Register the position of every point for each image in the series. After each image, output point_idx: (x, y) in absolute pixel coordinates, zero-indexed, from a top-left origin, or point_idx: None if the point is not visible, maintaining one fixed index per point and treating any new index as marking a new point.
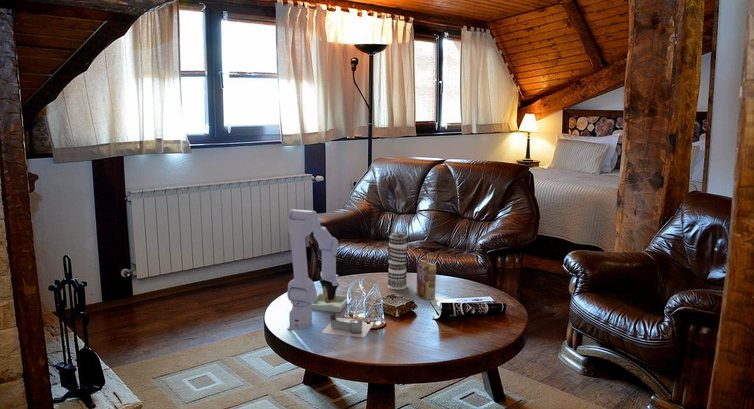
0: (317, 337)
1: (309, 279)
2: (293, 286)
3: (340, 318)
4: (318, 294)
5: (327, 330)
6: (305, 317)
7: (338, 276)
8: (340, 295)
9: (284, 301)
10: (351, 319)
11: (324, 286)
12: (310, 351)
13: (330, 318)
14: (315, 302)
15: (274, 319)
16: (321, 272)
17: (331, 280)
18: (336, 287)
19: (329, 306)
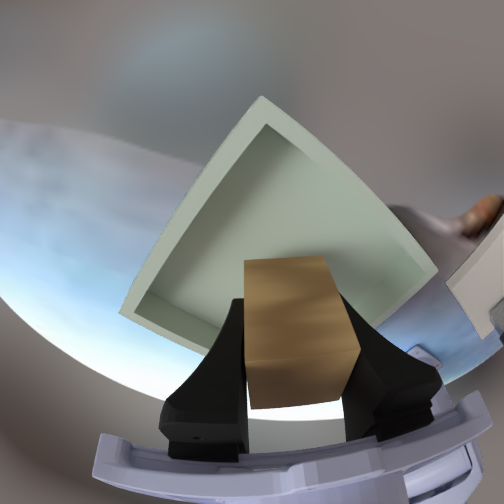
0: (477, 342)
1: (471, 493)
2: (426, 493)
3: (470, 273)
4: (142, 321)
5: (487, 326)
6: (448, 396)
7: (381, 458)
8: (204, 182)
9: (141, 383)
10: (501, 237)
11: (259, 404)
12: (495, 352)
13: (501, 340)
14: (212, 328)
15: (307, 416)
16: (139, 492)
17: (442, 456)
18: (412, 364)
19: (388, 315)
